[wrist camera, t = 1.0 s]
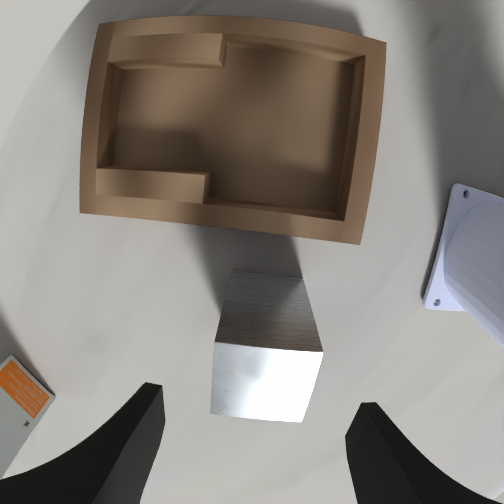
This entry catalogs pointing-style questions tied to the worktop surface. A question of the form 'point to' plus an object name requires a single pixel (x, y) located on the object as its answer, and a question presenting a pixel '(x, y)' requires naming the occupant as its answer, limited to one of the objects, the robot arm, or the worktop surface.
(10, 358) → the skincare box
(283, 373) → the metal peg
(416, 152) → the worktop surface
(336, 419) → the worktop surface
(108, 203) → the wooden tray
